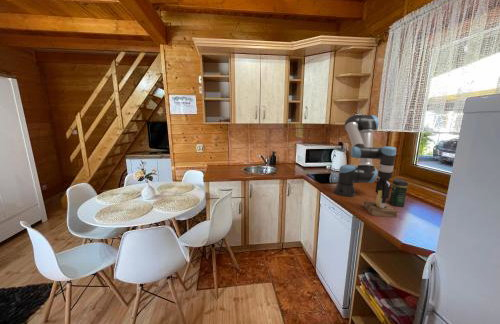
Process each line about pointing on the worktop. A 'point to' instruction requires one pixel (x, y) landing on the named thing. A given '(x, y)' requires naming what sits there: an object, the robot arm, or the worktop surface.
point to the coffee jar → (398, 192)
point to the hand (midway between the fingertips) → (379, 205)
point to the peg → (379, 198)
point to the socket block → (379, 209)
